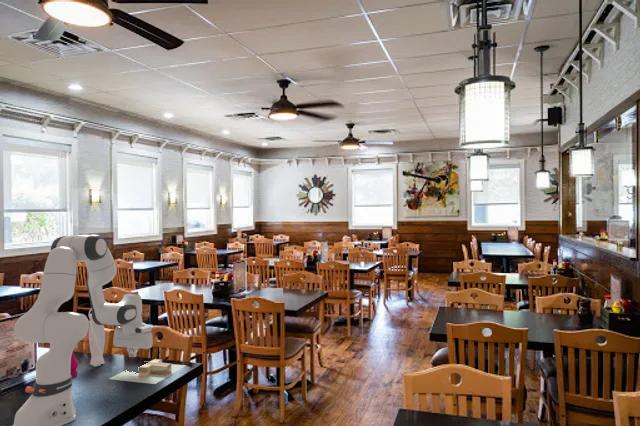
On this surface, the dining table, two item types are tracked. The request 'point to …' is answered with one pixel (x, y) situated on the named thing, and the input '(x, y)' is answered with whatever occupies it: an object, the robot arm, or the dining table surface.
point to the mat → (149, 379)
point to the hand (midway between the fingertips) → (132, 356)
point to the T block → (155, 368)
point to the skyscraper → (96, 342)
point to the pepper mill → (73, 365)
